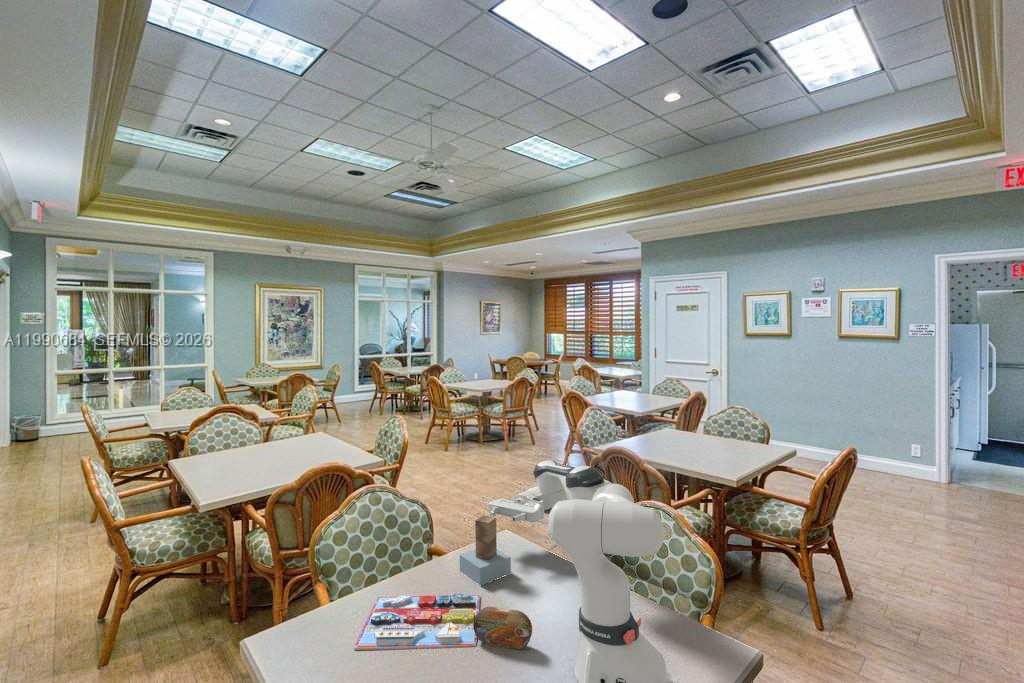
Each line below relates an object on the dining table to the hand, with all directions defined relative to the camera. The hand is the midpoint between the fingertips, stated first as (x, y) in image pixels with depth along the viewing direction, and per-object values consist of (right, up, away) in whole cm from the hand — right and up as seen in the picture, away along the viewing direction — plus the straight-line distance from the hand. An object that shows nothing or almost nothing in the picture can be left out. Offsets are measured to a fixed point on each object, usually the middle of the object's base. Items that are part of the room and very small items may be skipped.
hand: (502, 516), depth 163 cm
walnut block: (-5, -10, -8) cm, 14 cm away
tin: (+1, -16, -44) cm, 47 cm away
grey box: (-6, -16, -8) cm, 19 cm away
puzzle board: (-21, -17, -34) cm, 43 cm away
